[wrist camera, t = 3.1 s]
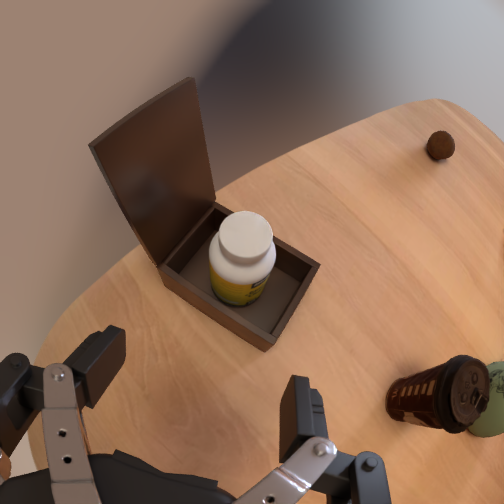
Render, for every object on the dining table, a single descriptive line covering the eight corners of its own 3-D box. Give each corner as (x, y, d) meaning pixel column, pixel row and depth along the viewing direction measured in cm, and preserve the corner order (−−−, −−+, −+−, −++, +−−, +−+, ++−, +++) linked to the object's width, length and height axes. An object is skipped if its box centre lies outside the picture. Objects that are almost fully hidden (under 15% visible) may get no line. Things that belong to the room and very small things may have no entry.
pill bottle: (235, 319, 33) (244, 283, 22) (199, 280, 34) (192, 229, 24) (274, 284, 35) (298, 237, 25) (238, 249, 37) (247, 191, 27)
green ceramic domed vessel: (476, 451, 26) (514, 451, 18) (447, 410, 29) (489, 406, 22) (512, 381, 31) (545, 371, 24) (487, 337, 35) (522, 323, 28)
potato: (448, 153, 57) (462, 135, 51) (443, 171, 53) (459, 152, 47) (428, 137, 59) (440, 118, 53) (420, 153, 54) (435, 132, 48)
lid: (195, 77, 20) (187, 76, 21) (93, 146, 16) (87, 144, 16) (216, 199, 33) (210, 196, 34) (157, 266, 29) (152, 262, 29)
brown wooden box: (306, 283, 37) (321, 264, 32) (264, 352, 32) (273, 345, 27) (213, 226, 39) (213, 200, 34) (164, 285, 34) (155, 266, 29)
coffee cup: (427, 421, 29) (495, 418, 17) (379, 437, 28) (447, 445, 16) (423, 364, 33) (490, 344, 21) (376, 374, 32) (443, 359, 20)
